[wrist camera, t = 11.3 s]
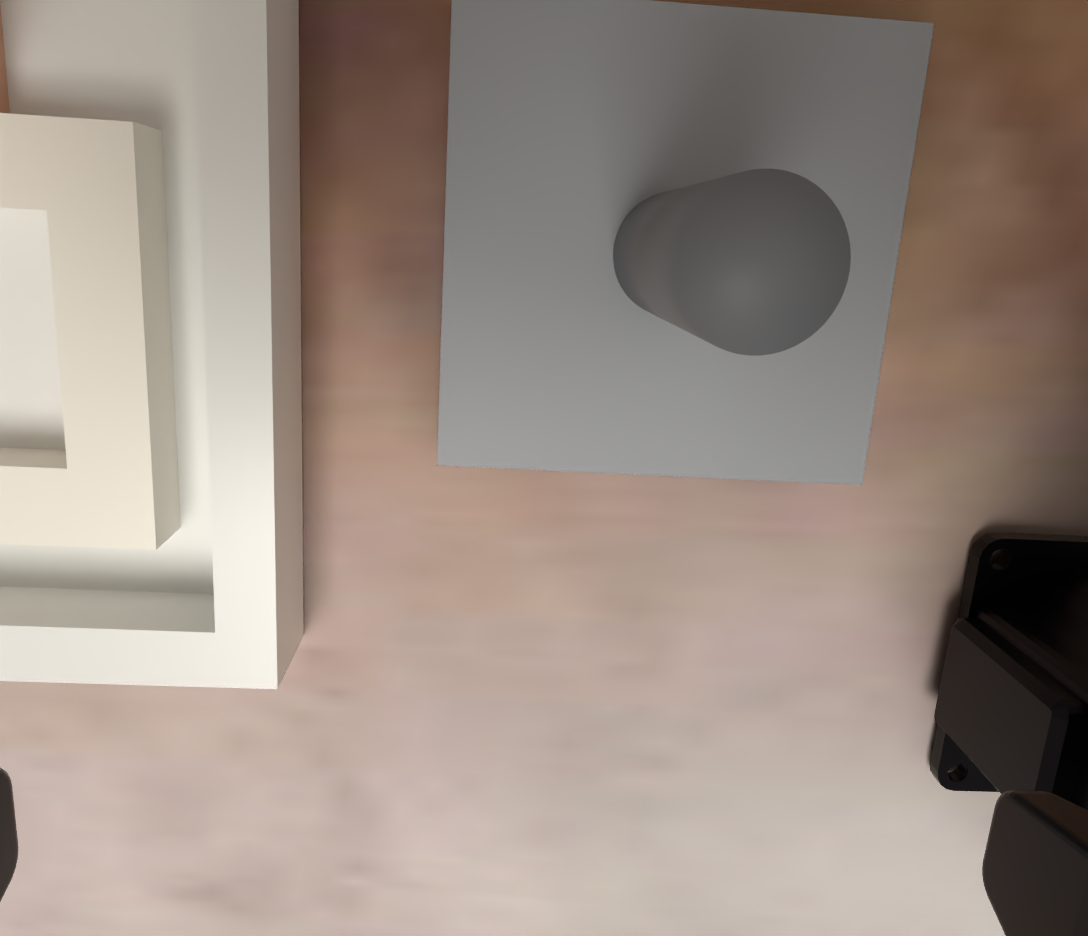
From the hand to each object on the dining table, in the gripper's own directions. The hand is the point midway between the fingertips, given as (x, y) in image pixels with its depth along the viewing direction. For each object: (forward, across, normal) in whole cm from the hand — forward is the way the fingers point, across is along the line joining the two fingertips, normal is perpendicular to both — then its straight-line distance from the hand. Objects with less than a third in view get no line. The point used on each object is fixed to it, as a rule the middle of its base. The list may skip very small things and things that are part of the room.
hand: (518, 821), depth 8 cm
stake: (+12, -3, -5) cm, 13 cm away
